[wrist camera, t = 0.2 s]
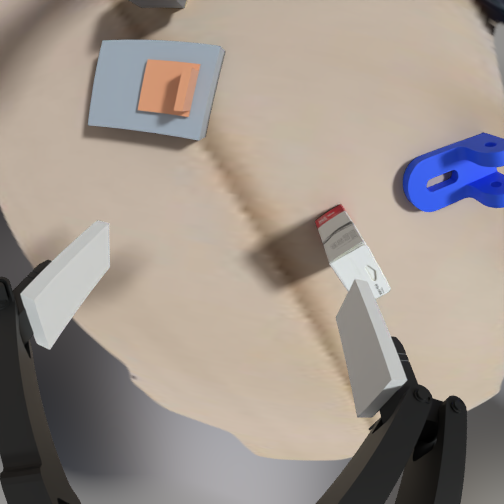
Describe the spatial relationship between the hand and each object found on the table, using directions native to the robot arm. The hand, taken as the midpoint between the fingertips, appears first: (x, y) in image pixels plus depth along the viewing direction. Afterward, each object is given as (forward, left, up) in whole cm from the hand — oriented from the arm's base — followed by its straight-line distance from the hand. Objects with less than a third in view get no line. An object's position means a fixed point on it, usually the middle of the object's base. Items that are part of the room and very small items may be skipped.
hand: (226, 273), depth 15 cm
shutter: (-8, -12, -22) cm, 27 cm away
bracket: (-8, +29, -27) cm, 41 cm away
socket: (-8, -15, -27) cm, 32 cm away
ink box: (+7, +15, -27) cm, 32 cm away
